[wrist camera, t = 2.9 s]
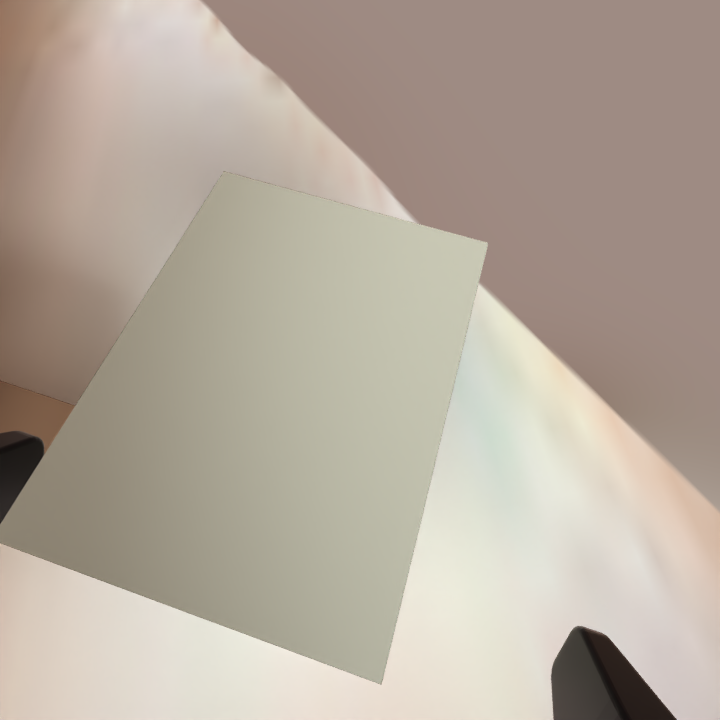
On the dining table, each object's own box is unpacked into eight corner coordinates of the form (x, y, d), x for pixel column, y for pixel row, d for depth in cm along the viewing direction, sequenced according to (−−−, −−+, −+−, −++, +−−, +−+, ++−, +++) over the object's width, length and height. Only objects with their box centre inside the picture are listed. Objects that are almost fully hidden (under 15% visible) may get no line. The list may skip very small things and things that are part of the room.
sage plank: (346, 599, 15) (382, 684, 3) (261, 568, 15) (-9, 539, 3) (381, 480, 16) (487, 243, 5) (303, 455, 17) (223, 170, 5)
